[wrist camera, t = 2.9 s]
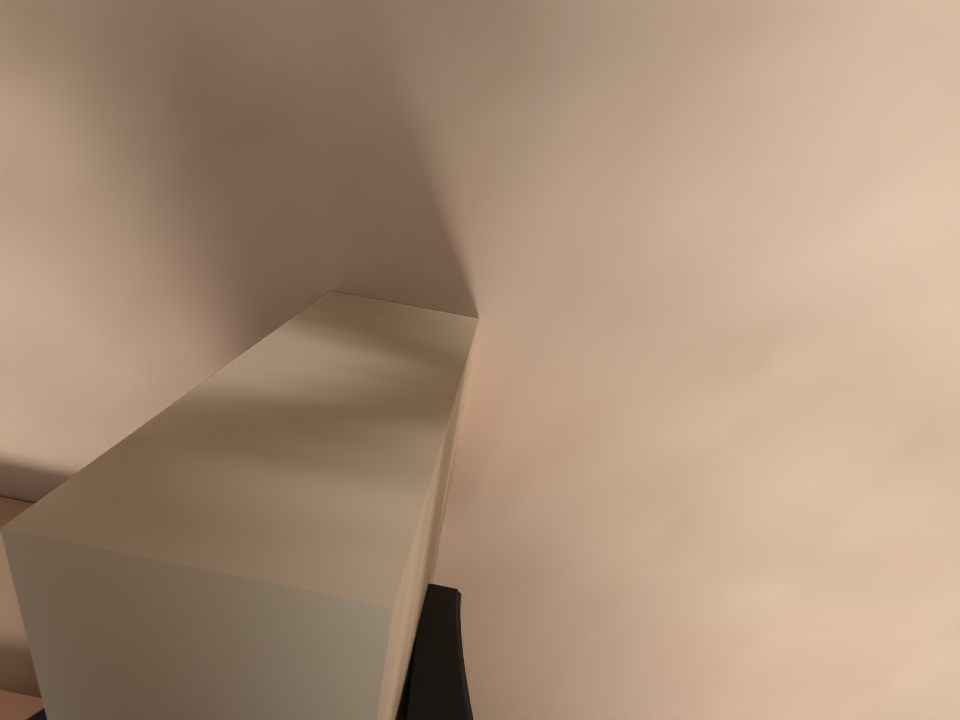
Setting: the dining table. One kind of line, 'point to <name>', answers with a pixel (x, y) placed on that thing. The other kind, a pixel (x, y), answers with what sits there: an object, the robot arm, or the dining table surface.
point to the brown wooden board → (13, 620)
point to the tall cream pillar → (256, 531)
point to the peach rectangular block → (18, 706)
